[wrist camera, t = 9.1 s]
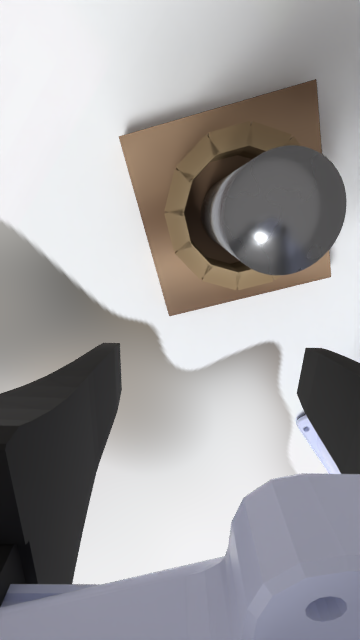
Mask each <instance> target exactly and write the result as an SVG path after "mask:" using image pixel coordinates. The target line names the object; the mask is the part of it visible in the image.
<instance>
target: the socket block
mask: <svg viewBox="0 0 360 640" xmlns="http://www.w3.org/2000/svg"><path fill="white" fill-rule="evenodd" d="M119 139H120V143H121V146H122V150H123V154H124V157H125V161H126V164H127V168H128V171H129V175H130V178H131V182H132V185H133V189H134V193H135V196H136V200H137V203H138V207H139V210H140V214H141V217H142V221H143V225H144V228H145V232H146V235H147V239H148V242H149V246H150V249H151V253H152V257H153V260H154V264H155V267H156V271H157V274H158V278H159V281H160V285H161V289H162V292H163V296H164V299H165V303H166V306H167V310H168V313H169V316H172V315H176V314H181V313H185V312H189V311H193V310H197V309H201V308H205V307H209V306H214V305H218V304H222V303H226V302H230V301H234V300H238V299H242V298H246V297H251V296H255V295H259V294H263V293H267V292H271V291H275V290H279V289H284V288H288V287H292V286H296V285H300V284H304V283H308V282H312V281H316V280H321V279H325V278H329V277H331V269H330V255H329V250H328V252H327V253H326V254H325V255H324V256H323V257H322V258H321V259H319V260H318V261H317V262H316V263H314V264H313V265H311V266H310V267H308V268H306V269H304V270H302V271H299V272H296V273H293V274H289V275H267V274H263V273H260V272H257V271H255V270H253V269H251V268H249V267H248V266H246V265H245V264H244V263H242V262H241V261H240V260H238V259H237V258H236V257H234V256H233V255H232V254H231V253H229V252H228V251H227V250H225V249H224V248H223V247H221V246H220V245H219V244H218V243H216V242H215V241H214V240H212V239H211V238H210V237H209V236H208V234H207V233H206V231H205V229H204V227H203V225H202V221H201V207H202V203H203V200H204V197H205V196H206V194H207V192H208V191H209V189H210V188H211V187H212V186H213V185H215V184H216V183H217V182H219V181H220V180H222V179H223V178H225V177H226V176H228V175H229V174H231V173H232V172H234V171H235V170H237V169H238V168H240V167H242V166H243V165H245V164H246V163H248V162H249V161H251V160H252V159H254V158H255V157H257V156H258V155H260V154H262V153H264V152H266V151H268V150H270V149H273V148H277V147H281V146H287V145H297V146H304V147H307V148H310V149H313V150H315V151H317V152H319V153H321V154H322V149H321V135H320V122H319V109H318V95H317V82H316V79H315V80H312V81H308V82H305V83H302V84H298V85H295V86H291V87H288V88H284V89H281V90H277V91H274V92H271V93H267V94H264V95H260V96H257V97H253V98H250V99H246V100H243V101H240V102H236V103H233V104H229V105H226V106H222V107H219V108H215V109H212V110H209V111H205V112H202V113H198V114H195V115H191V116H188V117H184V118H181V119H178V120H174V121H171V122H167V123H164V124H160V125H157V126H153V127H150V128H147V129H143V130H140V131H136V132H133V133H129V134H126V135H122V136H119Z"/></svg>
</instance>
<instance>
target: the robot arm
mask: <svg viewBox="0 0 360 640" xmlns="http://www.w3.org/2000/svg"><path fill="white" fill-rule="evenodd" d="M120 365H121V363H120V343H103V344H101V345H99V346H97V347H95V348H94V349H92V350H91V351H89V352H87V353H86V354H84V355H83V356H81V357H79V358H78V359H76V360H75V361H73V362H71V363H70V364H68V365H66V366H64V367H62V368H60V369H59V370H57V371H55V372H53V373H51V374H49V375H47V376H45V377H43V378H41V379H38V380H36V381H34V382H31V383H29V384H27V385H24V386H21V387H19V388H16V389H13V390H10V391H7V392H4V393H1V394H0V640H360V363H358V362H356V361H354V360H352V359H349V358H347V357H345V356H342V355H340V354H337V353H335V352H332V351H329V350H326V349H323V348H306V349H305V354H304V359H303V365H302V370H301V375H300V380H299V385H298V390H297V395H298V397H299V400H300V402H301V405H302V407H303V409H304V412H305V414H306V415H305V416H303V417H301V418H299V419H298V420H297V421H296V424H297V426H298V428H299V429H300V431H301V432H302V434H303V435H304V437H305V438H306V440H307V441H308V443H309V444H310V446H311V447H312V449H313V450H314V452H315V453H316V455H317V456H318V458H319V459H320V461H321V462H322V464H323V465H324V467H325V468H326V470H327V471H328V473H329V474H304V473H302V474H297V475H291V476H286V477H280V478H275V479H271V480H269V481H268V482H266V483H265V484H263V485H262V486H260V487H259V488H257V489H256V490H254V491H253V492H251V493H250V494H248V495H247V496H246V497H244V498H243V500H242V502H241V504H240V506H239V508H238V510H237V512H236V514H235V516H234V518H233V520H232V523H231V530H230V538H229V546H228V549H227V552H226V555H225V556H224V557H220V558H215V559H211V560H206V561H202V562H198V563H194V564H189V565H185V566H181V567H176V568H172V569H167V570H163V571H158V572H154V573H150V574H145V575H141V576H137V577H132V578H128V579H123V580H120V581H115V582H110V583H106V584H102V585H87V584H86V585H83V584H81V585H80V584H79V585H78V584H72V582H73V576H74V571H75V566H76V561H77V557H78V552H79V547H80V541H81V537H82V532H83V528H84V523H85V519H86V514H87V510H88V505H89V501H90V496H91V492H92V488H93V484H94V479H95V476H96V472H97V469H98V465H99V462H100V459H101V456H102V453H103V450H104V448H105V445H106V442H107V439H108V436H109V434H110V430H111V428H112V425H113V422H114V419H115V416H116V413H117V410H118V405H119V400H120V395H121V390H122V388H121V366H120ZM306 426H307V427H306ZM304 427H306V428H304Z"/></svg>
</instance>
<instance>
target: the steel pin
mask: <svg viewBox="0 0 360 640" xmlns="http://www.w3.org/2000/svg"><path fill="white" fill-rule="evenodd" d="M345 213H346V192H345V188H344V184H343V181H342V178H341V176H340V174H339V172H338V170H337V169H336V168H335V166H334V165H333V163H332V162H331V161H329V160H328V159H327V158H326V157H325V156H324V155H322V154H321V153H319V152H317V151H315V150H313V149H310V148H307V147H304V146H297V145H287V146H281V147H277V148H273V149H270V150H268V151H266V152H264V153H262V154H260V155H258V156H257V157H255V158H254V159H252V160H251V161H249V162H248V163H246V164H245V165H243V166H242V167H240V168H238V169H237V170H235V171H234V172H232V173H231V174H229V175H228V176H226V177H225V178H223V179H222V180H220V181H219V182H217V183H216V184H215V185H213V186H212V187H211V188H210V189H209V191H208V192H207V194H206V196H205V197H204V200H203V203H202V207H201V221H202V225H203V227H204V229H205V231H206V233H207V234H208V236H209V237H210V238H211V239H212V240H214V241H215V242H216V243H218V244H219V245H220V246H221V247H223V248H224V249H225V250H227V251H228V252H229V253H231V254H232V255H233V256H234V257H236V258H237V259H238V260H240V261H241V262H242V263H244V264H245V265H246V266H248V267H249V268H251V269H253V270H255V271H257V272H260V273H263V274H267V275H289V274H293V273H296V272H299V271H302V270H304V269H306V268H308V267H310V266H311V265H313V264H314V263H316V262H317V261H318V260H319V259H321V258H322V257H323V256H324V255H325V254H326V253H327V252H328V250H329V249H330V248H331V247H332V245H333V244H334V242H335V241H336V239H337V237H338V235H339V233H340V231H341V228H342V226H343V222H344V219H345Z"/></svg>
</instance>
